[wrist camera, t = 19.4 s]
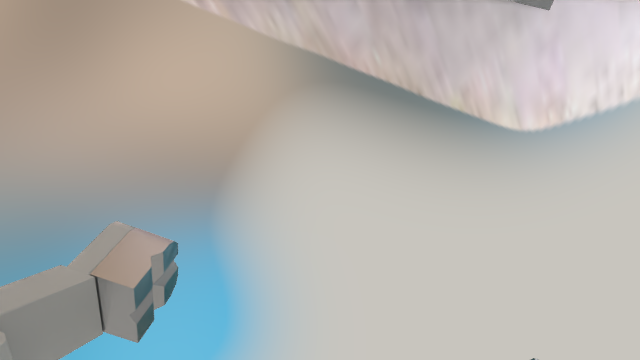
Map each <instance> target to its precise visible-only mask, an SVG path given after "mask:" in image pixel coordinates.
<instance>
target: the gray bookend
mask: <svg viewBox="0 0 640 360" xmlns="http://www.w3.org/2000/svg"><path fill="white" fill-rule="evenodd" d="M509 1H513V2H517V3H521V4H525V5H530V6H534V7H538V8H542V9H546V10H550V7H551V5H552V3H553V1H554V0H509Z"/></svg>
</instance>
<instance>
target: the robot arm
mask: <svg viewBox="0 0 640 360" xmlns="http://www.w3.org/2000/svg"><path fill="white" fill-rule="evenodd" d="M177 254H178V243H176V242H175V241H172V240H169V239H166V238H164V237H161V236H158V235H155V234H152V233H150V232H147V231H144V230H141V229H138V228H135V227H132V226H129V225H126V224H123V223H120V222H118V221H116V222H114V223H111V224H110V225H109V226H107V227H106V228H105V229H104V231H102V232H101V233H100V234H99V235H98V236H97V237H96V238H95V239H94V240H93V241H92V242H91V243H90V244H89V245H88V246H87V247H86V248H85V249H84V250H83V251H82V252H81V253H80V254H79V255H78V256H77V257H76V258H75V259H74V260H73V261H72V262H71V263H70V264H69V265H68V266H67V267H65V266H61V265H60V266H57V267H54V268H52V269H49V270H46V271H43V272H41V273H38V274H35V275H32V276H29V277H27V278H24V279H21V280H18V281H15V282H13V283H10V284H7V285H4V286H2V287H0V360H58V359H60V358H62V357H64V356H65V355H67V354H69V353H71V352H72V351H74V350H76V349H78V348H79V347H81V346H83V345H84V344H86V343H88V342H90V341H91V340H93V339H95V338H97V337H98V336H100V335H102V334H103V332H106V333H109V334H112V335H115V336H118V337H121V338H124V339H127V340H131V341H134V342H137V343H138V342H139V341H140V339H141V338H142V337H143V335H144V334H145V332H146V331H147V329H148V328H149V326H150V325H151V324H152V322H153V321H154V310H155V309H157V308H159V307H161V306H163V305H165V304H166V302H167V301H168V299H169V297H170V296H171V294H172V291H173V289H174V287H175V285H176V281H177V277H178V267H177V265H176V263H175V262H174V258H175V257H176V255H177ZM531 360H538V359H534V358H533V359H531Z"/></svg>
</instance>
